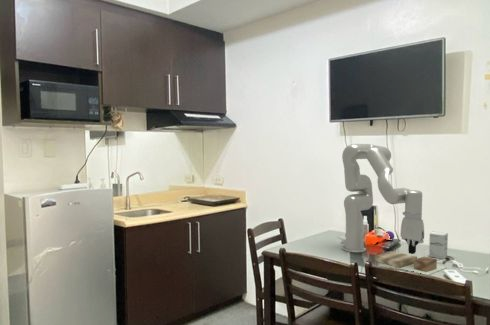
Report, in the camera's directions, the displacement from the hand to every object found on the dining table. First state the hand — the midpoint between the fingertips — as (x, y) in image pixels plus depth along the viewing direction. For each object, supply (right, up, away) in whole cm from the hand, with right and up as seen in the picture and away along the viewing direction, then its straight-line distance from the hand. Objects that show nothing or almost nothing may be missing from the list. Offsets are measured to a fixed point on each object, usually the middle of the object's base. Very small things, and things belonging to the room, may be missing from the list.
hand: (412, 253), depth 188 cm
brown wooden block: (+4, -4, -6) cm, 8 cm away
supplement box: (+21, -6, +16) cm, 27 cm away
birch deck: (-5, -6, +7) cm, 10 cm away
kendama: (+4, -5, +50) cm, 50 cm away
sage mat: (+3, -6, -4) cm, 8 cm away
